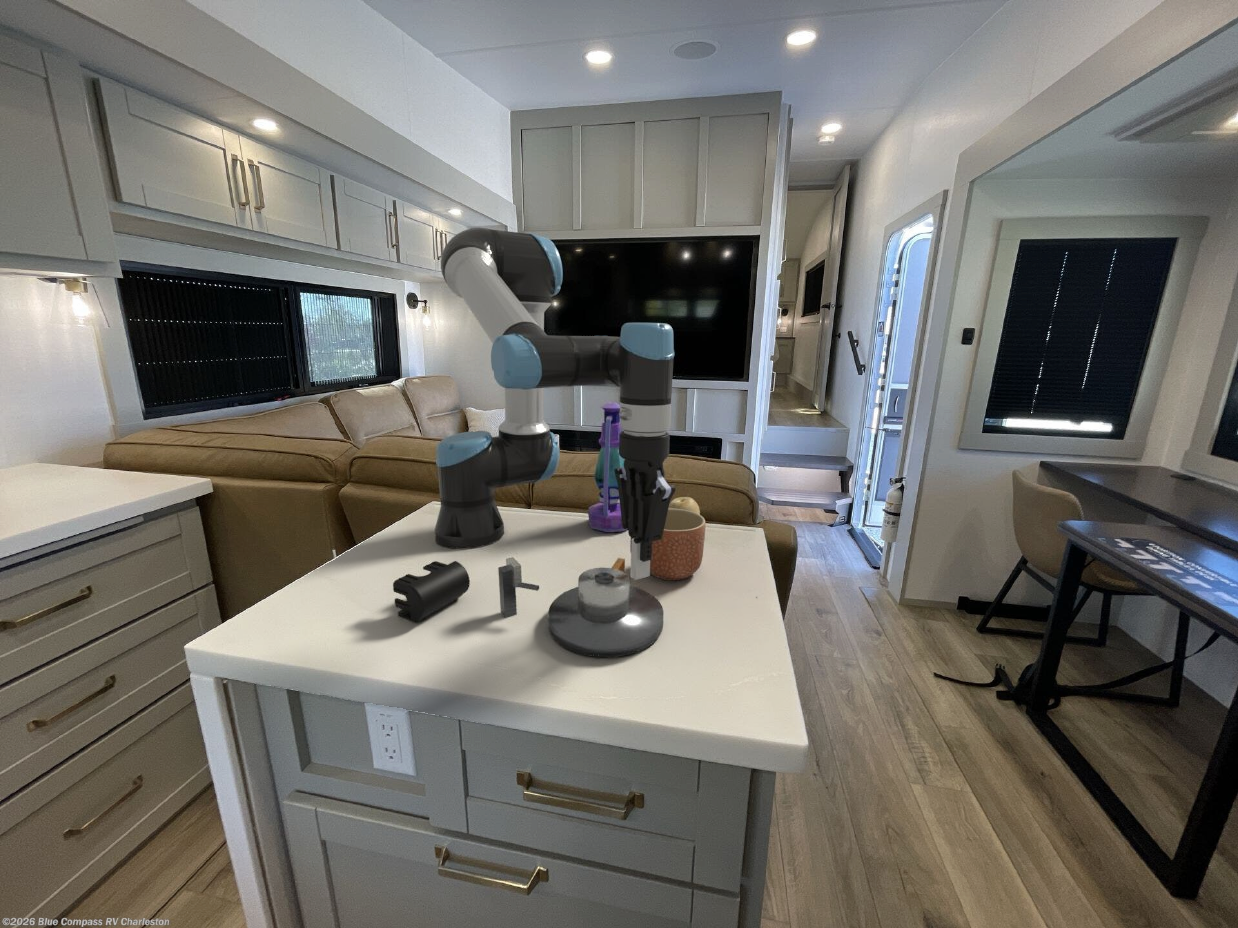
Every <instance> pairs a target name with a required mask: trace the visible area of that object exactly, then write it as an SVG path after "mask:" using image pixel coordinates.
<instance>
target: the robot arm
mask: <svg viewBox="0 0 1238 928" xmlns="http://www.w3.org/2000/svg"><path fill="white" fill-rule="evenodd" d="M561 259H562V258H561V256H560V253H559V250H558V249H557V247H556V245H555V244H554V242H553V241H552V240H551V239H549V238H548V237H546V236H541V235H537V234H533V233H525V232H515V231H507V230H499V229H491V228H490V229H489V228H486V227H472V228H468V229H465V230H462V231H460V232H459V233H456V234H455V235H454V236H453V237H451V239H450V240H448V242H447V243H446V244H445V246H444V248H443V251H442V253H441V257H440V270H441V274H442V277H443V280H444V282H445V283H446V285H447V286H448V288H449V290H451V292H452V293H454V294H455V296H458V297H460V298H462V299H463V300H464V302H465V304H466V305H467V307H468V308H469V310H470V311H471V313H472V314H473V316H474V317H475V318H476V321H478V324H479V325H480V327H481V328H482V330H483V331H484V333H485V334H486V335H487V337H488V338H489V340H490V342H491V343H492V346H491V351H490V363H491V369H492V371H493V377H494V380H495V381H496V383H497V384H498V385H499V386H500V387H501V388H504V420H503V421H502V422H501V423H500V424H499V425H498V436H492V435H491V432H490V431H488V430H487V431H486V430H474V431H473V430H472V431H464V432H459V433H455V434H452V435H450V436H447V437H444V438H443V439H441V440H440V441H439V442H438V444H437V445H436V462H435V465H436V466H437V475H438V477H437V478H438V489H439V498H440V499H439V501H440V508H439V511H438V515H437V518H436V523H435V527H434V541H435V543H437V545H440V546H441V547H444V548H449V549H460V550H461V549H474V548H479V547H483V546H484V547H485V546H488V545H491V544H493V543H495V542H498V541H499V540H500V539H502V538H503V537H504V535H505V523H504V520H503V518H502V515H501V513H500V511H499V508H498V505H497V504H496V498H495V489H499V488H506V487H512V486H518V485H527V484H536V483H538V482H541V481H546V480H549V479H551V477H552V476H553V475H555V473H556V471H557V469H558V465H559V461H560V446H559V445H558V444H559V440H558V439H557V437H556V435H555V434H554V433H553V432H551V429H550V426H549V425H548V423H546V422H545V420H544V389H548V388H562V387H567V388H568V387H587V386H588V387H589V386H612V387H619V405H620V412H619V415H620V428H621V429H622V432H621V433H620V434H619V455H620V456H621V457H622V458H623V459H625V460H624V466H623V467H621V468H616V469H615V470H614V473H615V476H616V480H617V483H618V492H619V501H620V510H621V519H622V527H623V529H626V530H627V531H628V535H629V537H630V545H629V547H630V577H631V579H632V578H633V580H635V581H638V580H641V579H645V578H647V577H650V575H651V573H650V560H651V558H652V542H654V541H658V540H661V539H662V536H663V531H664V526H665V522H666V517H667V513H668V508H669V504H670V502H671V499H672V498H673V496H674V494H675V492H676V486H675V485H674V484H668V482H667V480H666V479H665V475H666V474H665V469H664V461H665V460H666V459H667V458H668V457H669V455H670V440H671V437H670V434H669V433H668V431H669V430H670V429H671V427H672V426H671V425H672V424H671V423H672V421H671V420H672V391H673V371H674V357H675V349H674V347H675V346H674V330H673V328H672V326H671V325H670V324H668V323H666V322H665V323H663V322H662V323H661V322H626V323H624V324H623V325H622V326H621V328H620V329H621V330H620V336H608V335H594V336H593V335H592V336H591V335H589V336H588V335H586V336H585V335H583V336H582V335H548V334H547V333H546V332H545V329H544V328H545V312H546V311H547V309H548V308H549V307H550V306H551V305H552V297H554V296H556V295H557V294H558V293H559V292H560V290H561V286H562V284H563V276H564V275H563V263H562V260H561ZM628 519H629V521H628Z"/></svg>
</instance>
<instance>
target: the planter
mask: <svg viewBox="0 0 1238 928" xmlns="http://www.w3.org/2000/svg"><path fill="white" fill-rule="evenodd" d="M705 536H706V520H705V518H704V516H702V515H701V514H700V515H699V514H697V513H695V512H692V511H688V510H683V509H673V508H668V513H667V517H666V522H665V526H664V531H663V536H662V539H661V540H658V541H654V542H652V558H651V560H650V575H652V576H655V577H657V578H659V579H662V580H664V581H665V580H666V581H679V580H684V579H687V578H690V576H693V575H694V574H695V573H696V572H697V571H698V570H699V569H700V567H701V565H702V561H703V557H704V546H705V539H706V537H705Z"/></svg>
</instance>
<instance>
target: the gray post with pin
mask: <svg viewBox="0 0 1238 928" xmlns="http://www.w3.org/2000/svg"><path fill="white" fill-rule="evenodd" d="M505 564H506V565H503V566H499V567H498V568H497V569H498V585H499V586H498V587H499V605H500V613H501V615H503V617H504V618H508V617H513V616H515V615H517V614H518V611H517V589H516V588H520V589H526V590H532V591H537V592H538V591H540V585H539V584H538V585H537V584H532V583H527V582H522V580H523V579H522V564H520V563H519V562H518V560H517V559H516V558H514V557H513V556H512V557H508V558H507V557H506V558H505Z"/></svg>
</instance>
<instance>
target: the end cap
mask: <svg viewBox="0 0 1238 928" xmlns="http://www.w3.org/2000/svg"><path fill="white" fill-rule="evenodd" d="M422 570H424V571H428V572H430V573H428V574H425V575H413V574H410V573H408V574H405V575H404V576H401V577H399V578H397V579H395V580H394V581H393V583H392V587H393V588H392V589H393V592H394V593H396V594H399V595H402V596H404V597H405V599H406V600H404V599H401V598H397V597H396V598H394V606H395V608H397V609H400V610H398V611H397V615H398V617H399V618H402V619H404V620H407V621H410V622H412V623H418V622H420V621H421V620H423V619H425V618H427V617H428V616H430V615H431V614H433V613H435V612H437V611H438V610H441V609H442V608H444V607H445V606H447V605H448V604H451V603H452V602H453V601H455V600H457V599H459V598H460V597H462V596H463V595H464V594H465V593H467V592H468V591H469V588H470V583H471V582H470V581H471V580H470V577H469V572H468V571H467V569H466V567H464V565H463V564H462V563H460V562H459V561H457V560H454V561H452V562H450V563H448V564H447V563H443V562H440V561H436V560H435V561H432V562H431V563H428V564H426V565H425V566H423V567H422Z"/></svg>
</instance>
